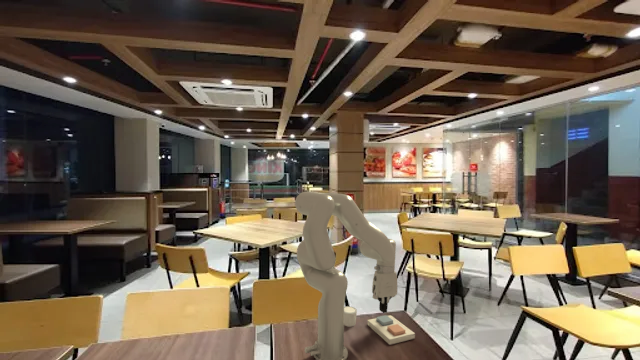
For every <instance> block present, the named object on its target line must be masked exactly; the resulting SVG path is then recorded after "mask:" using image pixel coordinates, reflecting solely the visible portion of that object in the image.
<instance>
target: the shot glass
mask: <svg viewBox="0 0 640 360" xmlns="http://www.w3.org/2000/svg"><path fill="white" fill-rule="evenodd" d="M357 312H358V310H357V308H355V306H351V305H347V306H344V327H349V328H352V327H354V326H355V325H356V323H357V314H358V313H357Z"/></svg>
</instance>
